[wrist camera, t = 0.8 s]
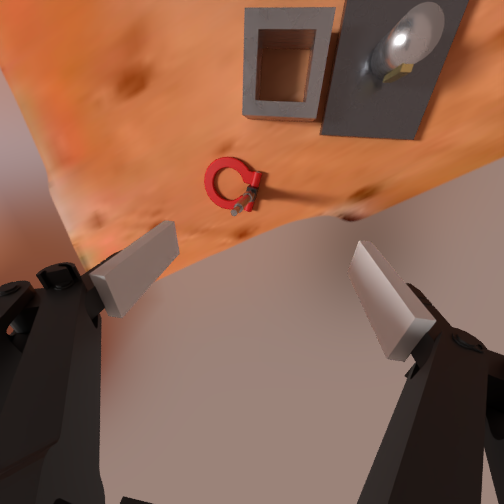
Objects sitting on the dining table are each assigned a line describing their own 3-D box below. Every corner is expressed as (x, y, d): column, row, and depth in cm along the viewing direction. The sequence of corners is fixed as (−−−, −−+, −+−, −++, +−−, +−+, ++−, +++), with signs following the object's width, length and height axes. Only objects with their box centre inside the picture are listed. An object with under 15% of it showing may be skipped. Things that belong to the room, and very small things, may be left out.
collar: (251, 31, 24) (244, 7, 20) (326, 32, 23) (335, 7, 19) (248, 118, 29) (242, 114, 24) (311, 122, 28) (316, 118, 24)
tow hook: (203, 199, 36) (251, 215, 36) (163, 222, 25) (232, 245, 25) (210, 149, 32) (264, 167, 32) (166, 151, 21) (249, 178, 21)
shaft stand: (353, -43, 21) (382, -119, 15) (478, -46, 20) (566, -131, 13) (319, 134, 29) (329, 133, 22) (407, 139, 27) (442, 139, 21)
